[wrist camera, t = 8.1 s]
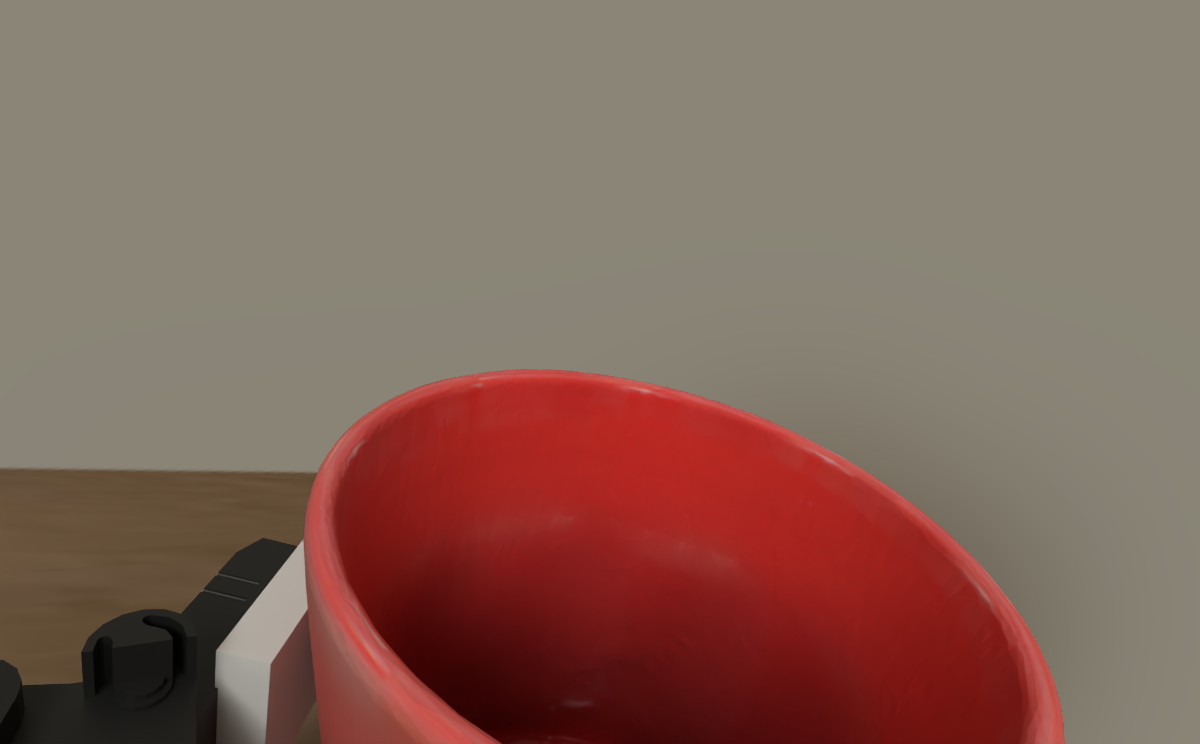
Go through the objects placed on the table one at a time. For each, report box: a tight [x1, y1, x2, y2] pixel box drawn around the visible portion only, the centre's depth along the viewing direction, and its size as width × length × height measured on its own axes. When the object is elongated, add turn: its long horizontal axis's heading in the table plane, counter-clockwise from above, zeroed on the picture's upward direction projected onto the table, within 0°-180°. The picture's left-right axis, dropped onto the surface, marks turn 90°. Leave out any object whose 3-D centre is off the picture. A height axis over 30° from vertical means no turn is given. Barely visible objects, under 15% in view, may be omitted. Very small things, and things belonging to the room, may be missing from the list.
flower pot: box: [303, 370, 1065, 744], centre depth 13 cm, size 11×11×10 cm
